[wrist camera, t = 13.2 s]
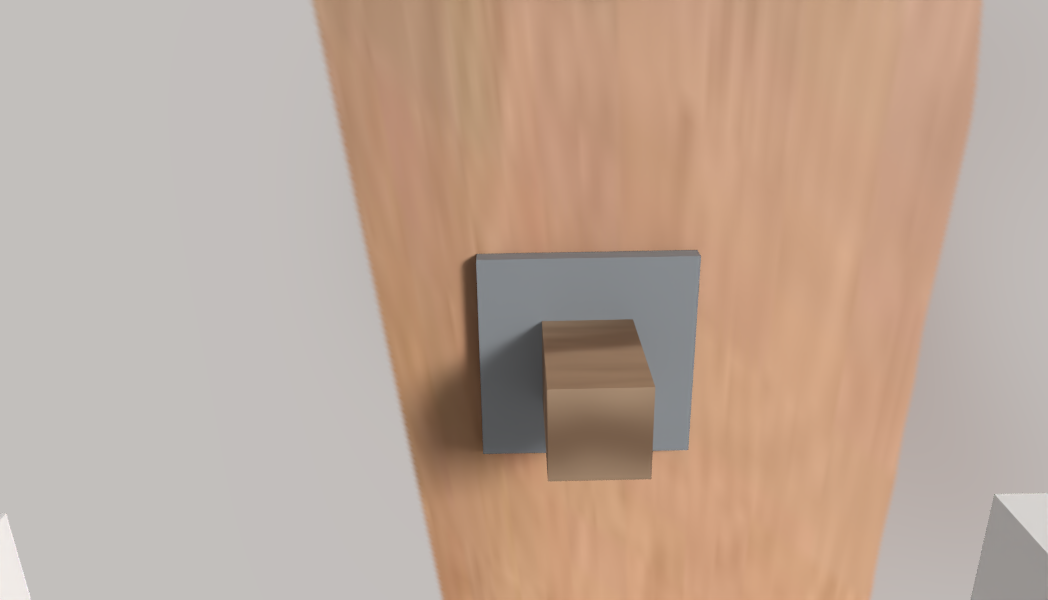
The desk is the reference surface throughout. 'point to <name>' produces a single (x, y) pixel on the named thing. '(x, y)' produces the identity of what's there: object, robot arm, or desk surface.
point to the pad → (582, 294)
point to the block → (596, 401)
